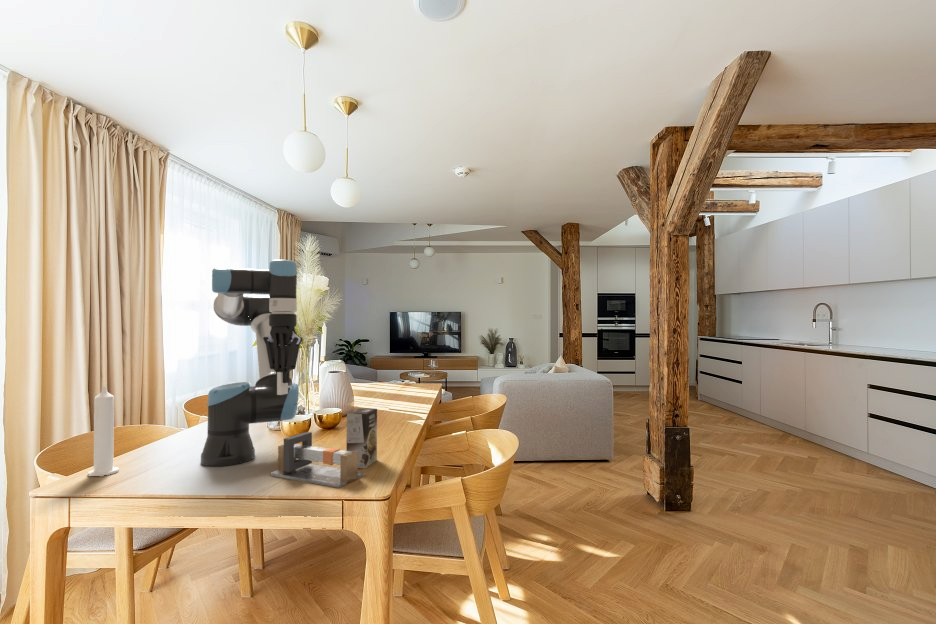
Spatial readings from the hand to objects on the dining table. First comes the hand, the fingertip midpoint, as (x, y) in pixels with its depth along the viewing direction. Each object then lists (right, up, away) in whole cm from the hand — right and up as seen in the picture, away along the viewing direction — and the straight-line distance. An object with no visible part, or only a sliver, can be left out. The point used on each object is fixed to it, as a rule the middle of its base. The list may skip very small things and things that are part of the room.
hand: (282, 394), depth 142 cm
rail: (+12, -22, -5) cm, 26 cm away
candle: (-50, -22, -3) cm, 54 cm away
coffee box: (+22, -22, +6) cm, 32 cm away
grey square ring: (+5, -21, -3) cm, 21 cm away
